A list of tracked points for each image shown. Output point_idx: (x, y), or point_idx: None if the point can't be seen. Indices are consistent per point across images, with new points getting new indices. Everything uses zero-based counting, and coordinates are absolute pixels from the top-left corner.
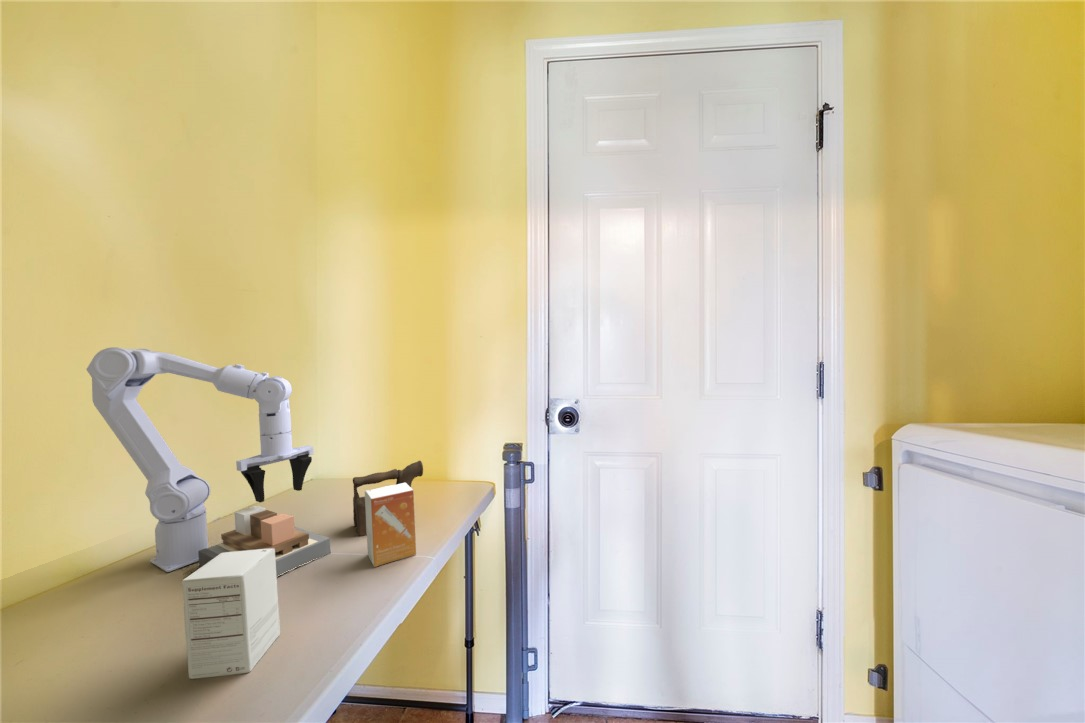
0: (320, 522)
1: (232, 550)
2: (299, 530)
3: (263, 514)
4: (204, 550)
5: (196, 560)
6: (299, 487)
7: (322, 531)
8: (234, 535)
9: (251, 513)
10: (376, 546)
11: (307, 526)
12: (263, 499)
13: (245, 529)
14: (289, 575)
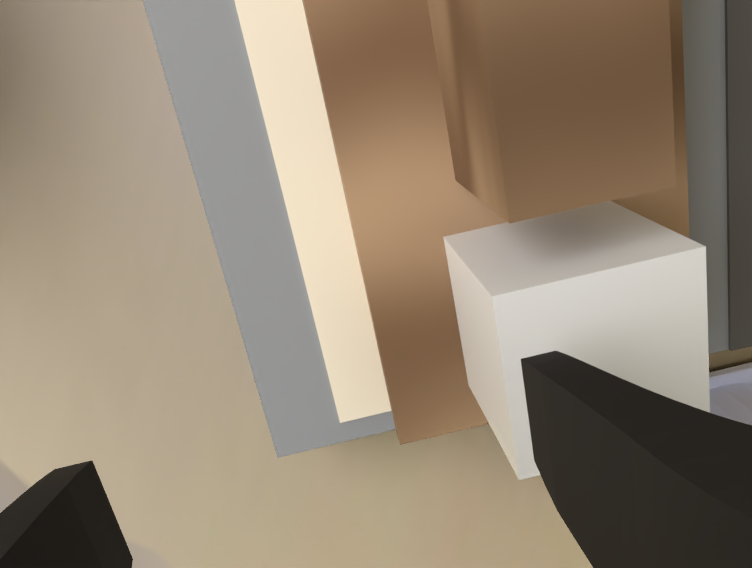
0: (13, 434)
1: None
2: (212, 146)
3: (588, 66)
4: (748, 316)
5: None
6: (66, 482)
7: (37, 248)
8: None
9: (632, 259)
10: None
11: (106, 430)
12: (538, 362)
13: (624, 209)
14: None
